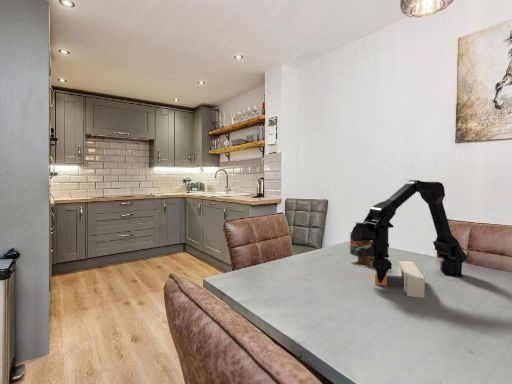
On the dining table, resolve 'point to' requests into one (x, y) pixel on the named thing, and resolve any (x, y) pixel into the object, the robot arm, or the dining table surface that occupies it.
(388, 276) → the orange grey square bar
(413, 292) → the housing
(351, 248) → the canned tomato
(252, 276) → the dining table surface
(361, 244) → the condiment
